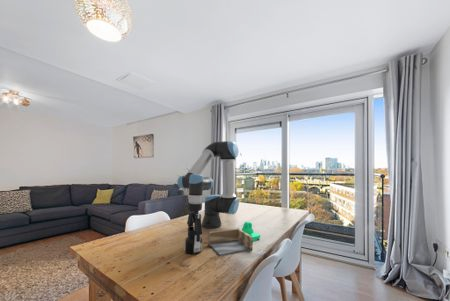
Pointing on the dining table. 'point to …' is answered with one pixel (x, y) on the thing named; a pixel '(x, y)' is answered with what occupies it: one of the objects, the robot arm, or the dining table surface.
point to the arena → (230, 241)
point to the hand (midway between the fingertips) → (193, 243)
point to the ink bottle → (192, 242)
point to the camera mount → (250, 230)
